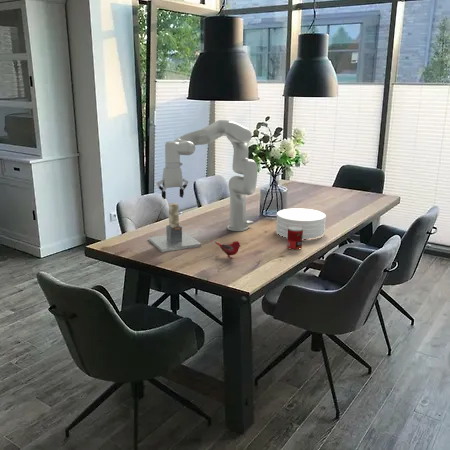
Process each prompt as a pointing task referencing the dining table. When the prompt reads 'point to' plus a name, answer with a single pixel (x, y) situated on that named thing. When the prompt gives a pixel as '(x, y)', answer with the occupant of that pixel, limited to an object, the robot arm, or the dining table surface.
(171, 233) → the metal stand
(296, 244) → the canned food
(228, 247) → the decorative bird figurine
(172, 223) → the ash post
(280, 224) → the plate stack
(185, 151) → the robot arm
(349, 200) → the dining table surface
